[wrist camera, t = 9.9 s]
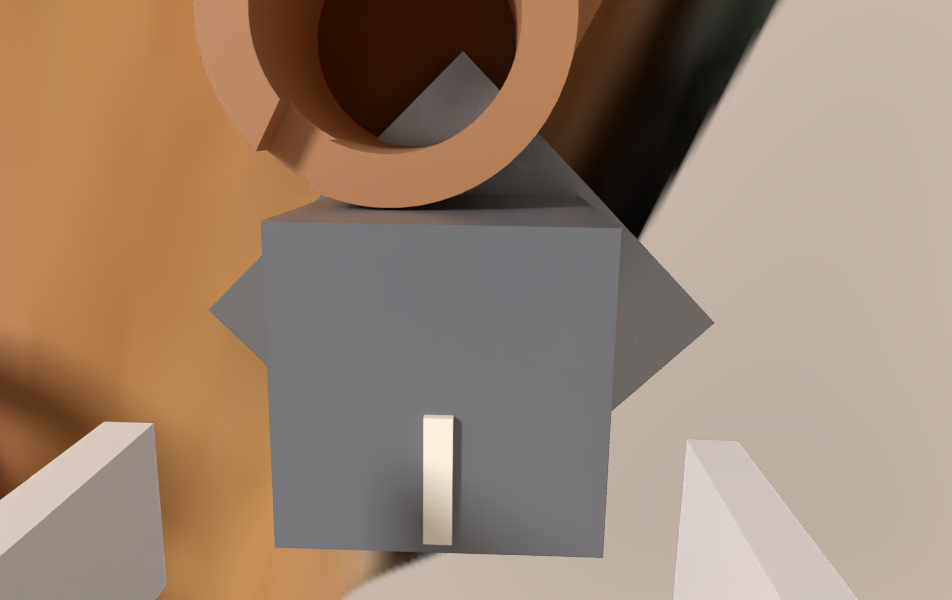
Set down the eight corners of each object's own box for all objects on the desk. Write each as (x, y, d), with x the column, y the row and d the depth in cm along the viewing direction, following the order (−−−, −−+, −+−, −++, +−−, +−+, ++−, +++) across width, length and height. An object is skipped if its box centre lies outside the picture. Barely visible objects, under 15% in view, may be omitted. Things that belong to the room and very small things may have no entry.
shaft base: (464, 54, 23) (452, 30, 17) (705, 314, 24) (771, 375, 18) (220, 302, 25) (133, 358, 19) (457, 528, 26) (445, 645, 20)
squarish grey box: (343, 191, 23) (257, 222, 15) (579, 196, 23) (622, 229, 15) (347, 414, 24) (272, 552, 16) (569, 420, 24) (604, 562, 16)
